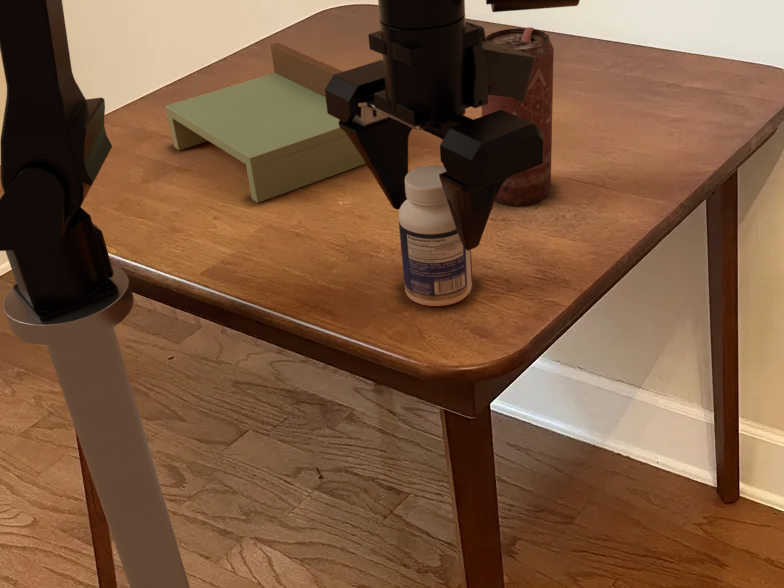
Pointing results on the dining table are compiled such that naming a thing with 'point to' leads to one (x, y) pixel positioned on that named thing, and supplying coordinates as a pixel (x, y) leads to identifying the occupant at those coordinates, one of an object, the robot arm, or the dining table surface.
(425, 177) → the pill bottle
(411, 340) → the dining table surface
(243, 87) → the shelf
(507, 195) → the can
